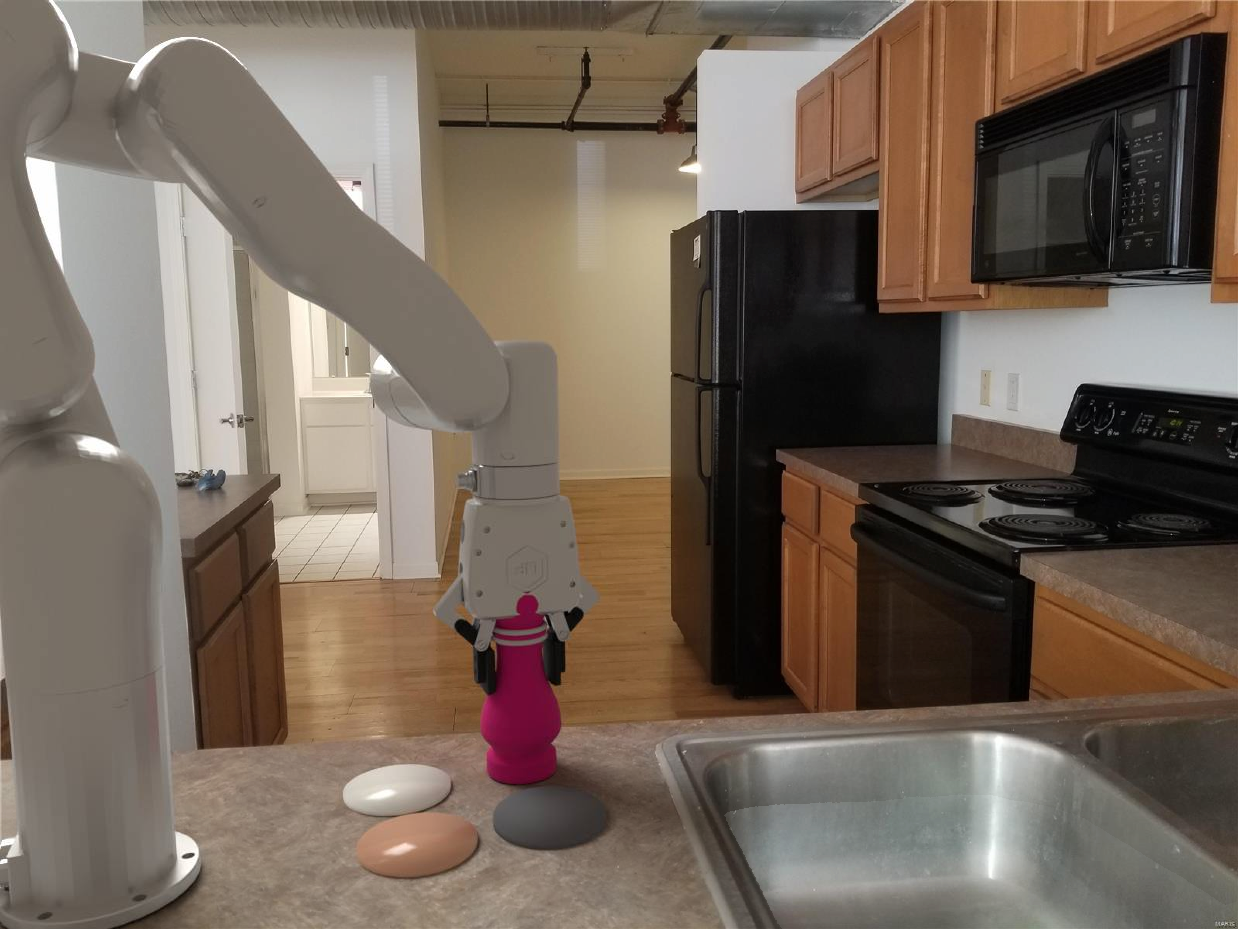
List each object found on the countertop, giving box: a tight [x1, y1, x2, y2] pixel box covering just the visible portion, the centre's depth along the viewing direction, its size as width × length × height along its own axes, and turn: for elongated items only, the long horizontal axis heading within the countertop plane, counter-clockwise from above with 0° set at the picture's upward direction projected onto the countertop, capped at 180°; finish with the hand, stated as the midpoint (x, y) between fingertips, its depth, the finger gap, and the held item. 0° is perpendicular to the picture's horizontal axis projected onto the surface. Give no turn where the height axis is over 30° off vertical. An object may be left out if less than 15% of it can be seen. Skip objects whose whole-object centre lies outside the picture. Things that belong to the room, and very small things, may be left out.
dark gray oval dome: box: [492, 785, 607, 850], centre depth 77 cm, size 9×9×1 cm
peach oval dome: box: [355, 811, 478, 878], centre depth 73 cm, size 9×9×1 cm
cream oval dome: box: [342, 763, 452, 817], centre depth 82 cm, size 9×9×1 cm
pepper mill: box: [479, 591, 562, 785], centre depth 85 cm, size 7×7×20 cm
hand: (520, 683), depth 85 cm, fingers closed on pepper mill, 5 cm apart
